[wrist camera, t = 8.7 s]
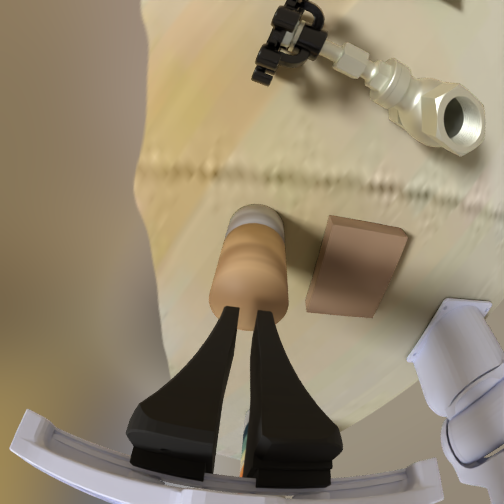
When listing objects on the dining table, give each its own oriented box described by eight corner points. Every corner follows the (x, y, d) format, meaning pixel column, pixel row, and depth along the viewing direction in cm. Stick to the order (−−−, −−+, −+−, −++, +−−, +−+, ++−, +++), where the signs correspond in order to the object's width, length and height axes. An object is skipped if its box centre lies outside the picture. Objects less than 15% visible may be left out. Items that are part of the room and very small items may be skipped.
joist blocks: (368, 306, 25) (372, 317, 23) (305, 300, 25) (306, 312, 23) (444, -53, 7) (453, -58, 6) (372, -84, 7) (378, -92, 6)
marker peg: (278, 256, 22) (280, 334, 16) (226, 249, 22) (208, 325, 16) (288, 208, 20) (296, 277, 14) (231, 200, 20) (210, 265, 14)
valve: (447, 86, 14) (293, -2, 13) (506, 95, 9) (303, -42, 7) (411, 160, 18) (254, 82, 16) (460, 194, 12) (245, 77, 10)
